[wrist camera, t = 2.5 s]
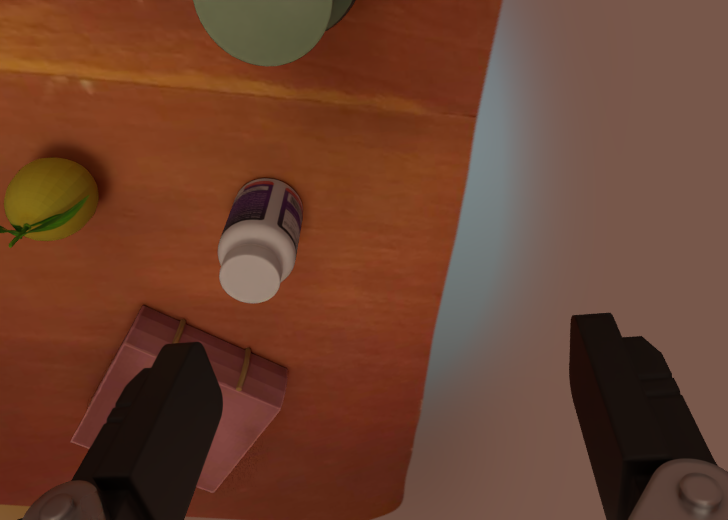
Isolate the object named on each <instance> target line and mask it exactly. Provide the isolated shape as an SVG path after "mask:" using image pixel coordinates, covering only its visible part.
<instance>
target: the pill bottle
mask: <svg viewBox="0 0 728 520" xmlns="http://www.w3.org/2000/svg"><path fill="white" fill-rule="evenodd" d="M302 218H303V206H302V202H301V200H300V198H299V196H298V194H297V193H296V192H295V191H294V190H293V189H292V188H291V187H290V186H289V185H287V184H285V183H284V182H281V181H279V180H275V179H268V178H263V179H257V180H254V181H251V182H249V183H247V184H246V185H245V186H243V187H242V188H241V190H240V191H239V192H238V194H237V196H236V198H235V200H234V203H233V206H232V209H231V211H230V214H229V217H228V220H227V222H226V225H225V228H224V230H223V233H222V236H221V238H220V242H219V245H218V258H219V262H220V264H221V269H220V274H219V278H220V283H221V285H222V287H223V289H224V290H225V291H226V293H227V294H229V295H230V296H231V297H233V298H235V299H236V300H239V301H241V302H245V303H261V302H264V301H267V300H269V299H270V298H272V297H273V296H274V295H275V294H276V292H277V291H278V289H279V286H280V283H281V282H282V281H283V280H284V279H286V278H287V277H288V275H289V274H290V273H291V271H292V269H293V267H294V264H295V260H296V254H297V248H298V242H299V236H300V230H301V224H302Z"/></svg>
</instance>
